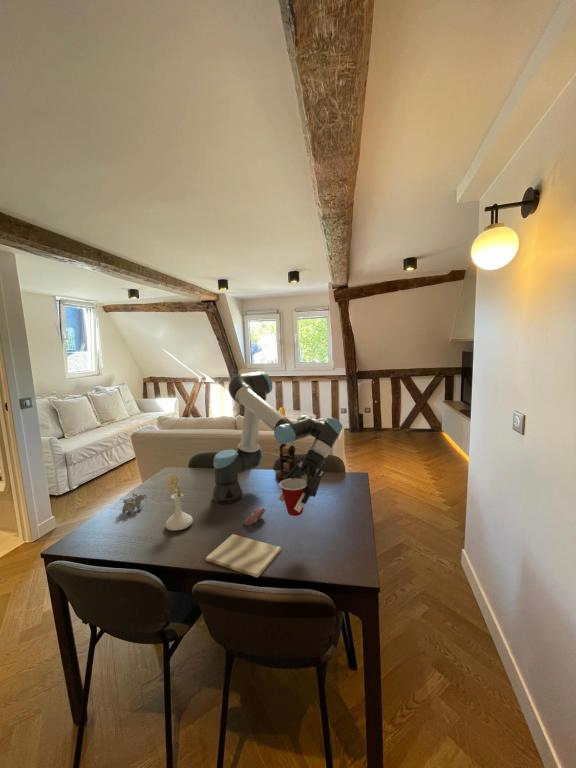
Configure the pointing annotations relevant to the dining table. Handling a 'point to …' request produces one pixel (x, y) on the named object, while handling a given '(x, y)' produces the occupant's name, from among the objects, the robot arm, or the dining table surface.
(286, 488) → the plastic cup
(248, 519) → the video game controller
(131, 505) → the elephant statuette
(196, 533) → the dining table surface
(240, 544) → the birch board
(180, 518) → the flower in vase
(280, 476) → the brown wooden upright piece
